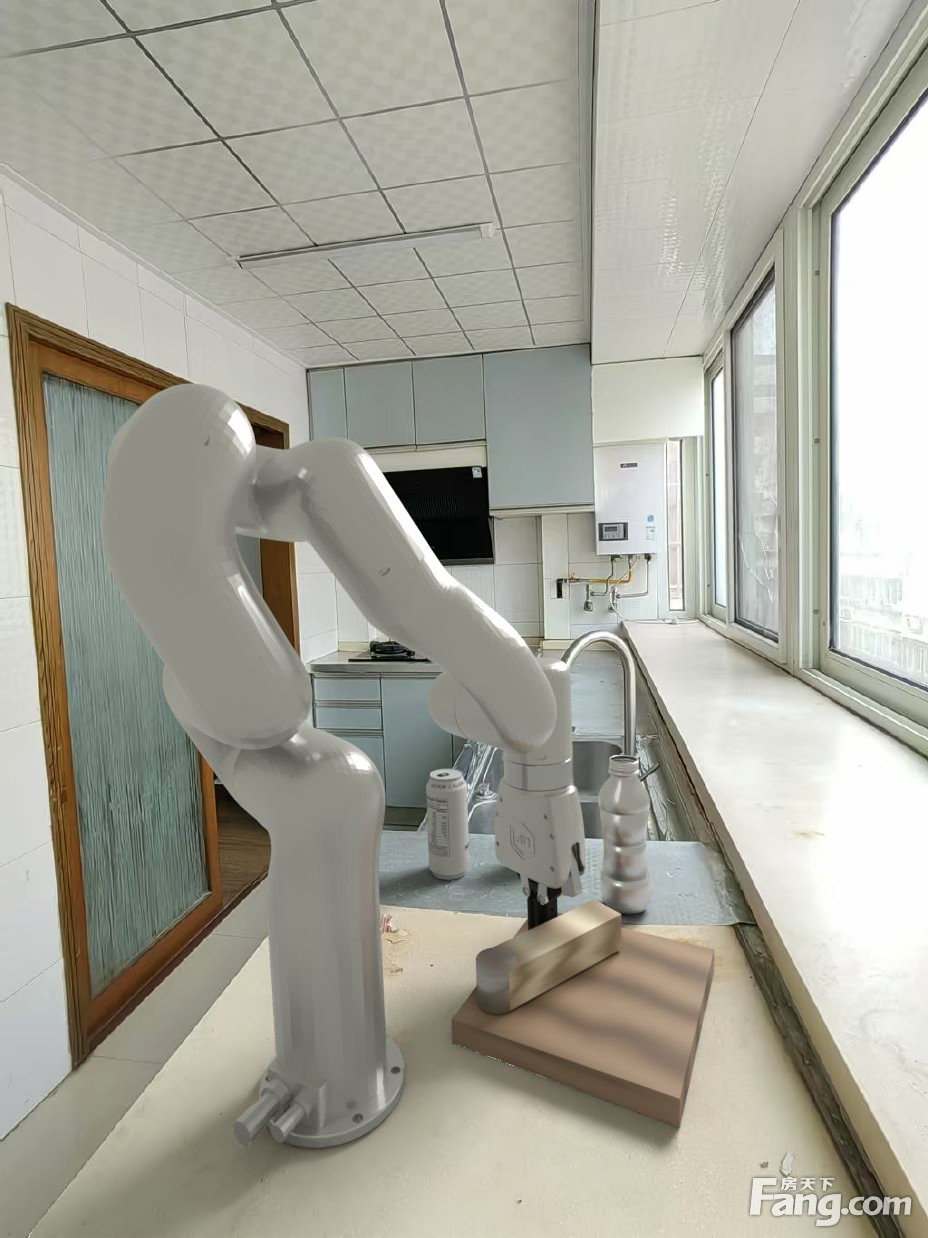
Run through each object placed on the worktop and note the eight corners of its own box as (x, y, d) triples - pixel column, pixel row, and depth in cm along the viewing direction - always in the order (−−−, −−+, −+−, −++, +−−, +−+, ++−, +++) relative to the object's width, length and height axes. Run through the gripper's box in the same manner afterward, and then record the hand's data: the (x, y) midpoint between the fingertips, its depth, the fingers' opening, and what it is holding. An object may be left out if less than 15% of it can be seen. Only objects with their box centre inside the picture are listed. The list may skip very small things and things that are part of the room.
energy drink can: (476, 874, 95) (473, 775, 94) (440, 885, 92) (436, 783, 91) (458, 858, 100) (455, 764, 99) (422, 868, 97) (419, 771, 96)
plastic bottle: (654, 923, 81) (653, 767, 79) (599, 918, 82) (597, 766, 81) (650, 896, 87) (649, 752, 86) (599, 893, 89) (597, 751, 87)
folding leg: (493, 1019, 61) (492, 977, 61) (469, 997, 64) (467, 957, 64) (621, 948, 71) (621, 912, 71) (594, 932, 75) (594, 897, 74)
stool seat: (679, 1127, 52) (679, 1098, 52) (452, 1043, 62) (451, 1019, 62) (714, 971, 71) (714, 949, 71) (536, 926, 81) (536, 907, 81)
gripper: (468, 764, 74) (474, 916, 76) (568, 798, 63) (572, 976, 64) (514, 749, 79) (519, 892, 81) (615, 778, 67) (618, 944, 69)
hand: (543, 929), depth 72 cm, fingers closed
